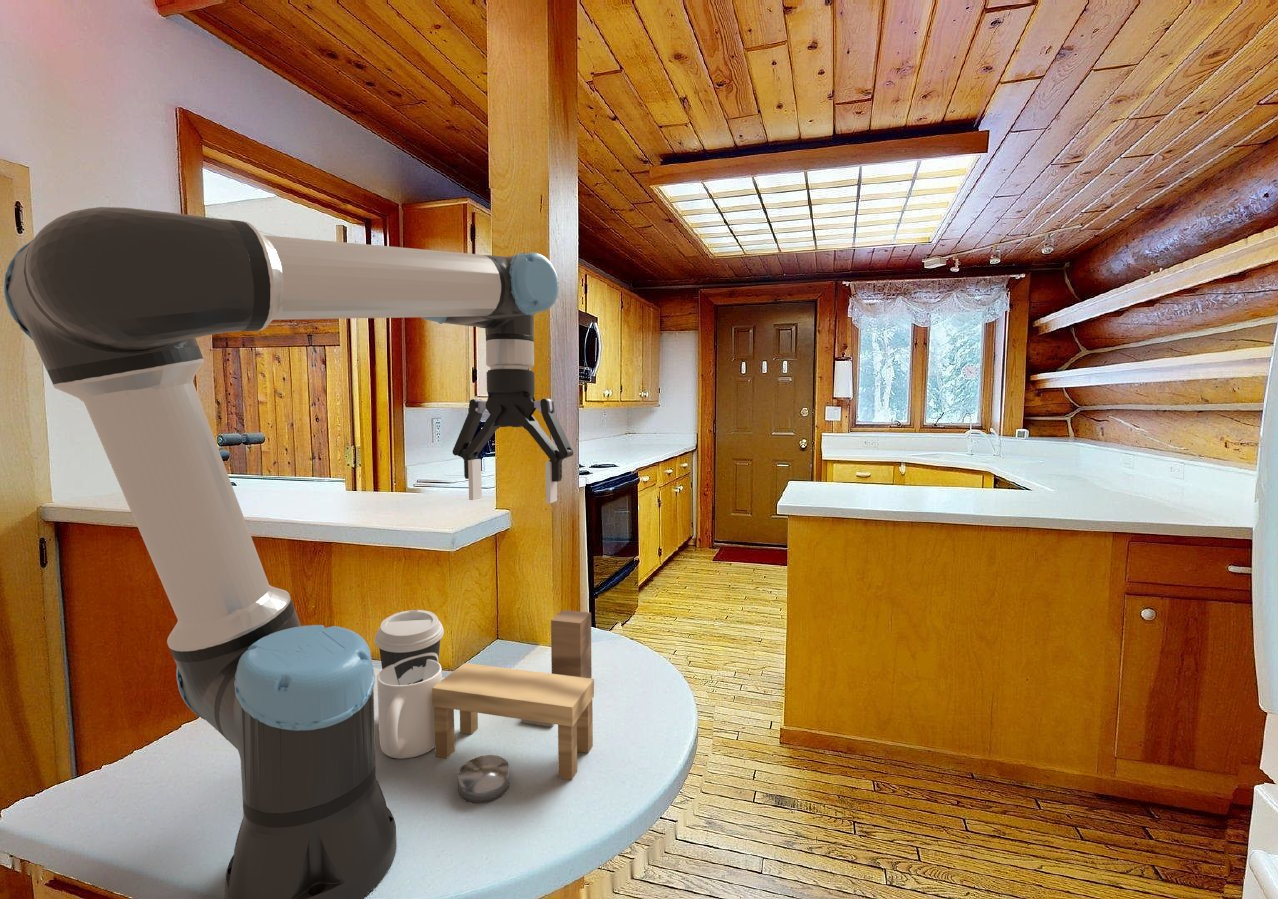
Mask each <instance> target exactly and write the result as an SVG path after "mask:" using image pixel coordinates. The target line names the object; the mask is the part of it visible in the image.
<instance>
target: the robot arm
mask: <svg viewBox="0 0 1278 899" xmlns="http://www.w3.org/2000/svg"><path fill="white" fill-rule="evenodd" d="M4 275H5V277H4V281H3V295H4V299H5V303H6V306H7V309H8V311H9V313H10V315H11V318H12V319H13V320H14V322H15V323H16V324H17V325H18V326H19V329H20V330H21V331H23V333H25V334H26V335H27V336H28V337H29V339H31V340H32V341H33V344H34V345H35V348H36V350H37V352H38V354H39V356H40V359H41V361H42V363H43V366H44V367H45V368H44V369H45V370H46V372H47V374H48V376H49V378H50V381H51V384H52V386H53V388H54V389H57V390H59V391H61V392H62V393H66V394H68V395H70V396H72V397H75V398H77V399H79V400H80V401H81V402H83V403H84V405H85V408H86V410H87V413H88V415H89V417H90V421H91V422H92V424H93V426H94V429H95V431H96V434H97V436H98V438H99V441H100V442H101V445H102V447H103V450H104V453H105V454H106V456H107V459H108V461H109V464H110V465H111V468H112V471H113V473H114V475H115V478H116V480H117V482H118V484H119V487H120V490H121V491H122V494H123V496H124V498H125V501H126V503H127V505H128V508H129V510H130V512H131V514H132V516H133V519H134V521H135V524H136V527H137V528H138V531H139V534H140V536H141V537H142V540H143V543H144V545H145V547H146V550H147V552H148V554H149V556H150V559H151V561H152V563H153V566H154V568H155V570H156V573H157V575H158V578H159V579H160V581H161V584H162V586H163V589H164V591H165V594H166V596H167V598H168V600H169V603H170V605H171V607H172V610H173V612H174V616H176V617H175V618H176V619H177V622H176V624H175V625H174V627H173V629H172V631H171V632H169V635H168V637H167V641H166V644H167V646H168V648H169V650H170V653H171V655H172V657H173V660H174V662H175V665H176V672H175V673H176V674H175V676H176V682H177V687H178V688H177V689H178V691H179V693H180V697H181V698H182V700H183V702H184V703H185V704H186V706H187V707H188V709H189V710H191V711H192V712H193V713H194V714H195V715H196V716H197V717H200V718H201V719H202V720H204V721H206V722H207V723H208V724H210V725H211V727H213V728H214V729H215V730H216V731H218V733H219V734H220V735H221V736H223V737H224V739H225V740H226V741H228V742H229V743H230V745H232V746H234V748H235V749H236V750H237V751H238V754H239V758H240V770H241V789H242V790H241V791H242V795H241V796H242V809H243V813H242V814H243V815H242V816H243V817H242V820H241V823H240V826H239V830H238V833H237V836H236V841H235V845H234V849H233V850H234V851H233V855H231V858H230V861H229V862H228V865H227V868H226V870H225V871H226V872H225V874H224V875H225V876H224V881H223V884H224V885H223V887H224V890H223V891H224V899H364V898H365V897H366V896H367V895H368V894H369V893H370V892H372V890H373V889H375V887H376V886H377V885H379V884H380V883H381V881H382V880H383V878H384V877H385V876H386V875H387V873H389V872H388V871H389V870H390V868H391V867H392V865H393V862H394V861H395V858H396V853H397V826H396V825H397V824H396V820H395V817H394V815H393V813H392V811H391V809H390V808H389V807H388V806H387V802H386V798H385V796H384V793H383V790H382V788H381V786H380V783H379V781H378V779H377V771H376V768H377V766H376V736H375V735H376V730H375V728H376V727H375V726H376V725H375V698H374V697H375V694H374V693H375V692H374V687H375V683H376V681H375V678H376V676H375V668H374V665H373V662H372V661H373V659H372V655H371V654H372V653H371V649H370V646H369V644H368V642H367V641H366V640H365V639H364V638H363V637H362V636H361V635H360V634H358V633H357V632H355V631H354V630H351V629H349V628H345V627H341V626H336V625H332V626H329V627H325V626H324V625H323V624H315V625H314V624H312V625H301V622H300V619H299V617H298V614H297V611H296V609H295V606H294V603H293V599H292V598H291V596H290V593H289V592H288V591H287V590H285V589H281V588H279V587H275V586H272V585H271V584H270V583H269V580H268V578H267V575H266V573H265V570H264V568H263V565H262V562H261V559H260V557H259V554H258V552H257V549H256V546H255V543H254V541H253V538H252V536H251V532H250V530H249V527H248V525H247V522H246V519H245V517H244V514H243V511H242V509H241V506H240V503H239V500H238V498H237V494H236V492H235V490H234V488H233V484H232V482H231V479H230V476H229V474H228V471H227V469H226V466H225V463H224V461H223V458H222V455H221V452H220V450H219V447H218V445H217V441H216V439H215V437H214V434H213V431H212V429H211V426H210V423H209V420H208V417H207V415H206V413H205V409H204V407H203V405H202V402H201V399H200V396H199V394H198V392H197V388H196V386H195V384H194V380H195V376H196V375H197V373H198V372H199V370H200V368H201V367H202V366H203V364H204V363H205V359H204V357H203V354H202V351H201V349H200V346H199V344H198V341H197V338H201V337H206V336H207V337H208V336H212V335H219V334H226V333H236V332H237V333H239V332H260V331H263V330H265V329H266V328H267V327H268V326H269V325H270V323H271V322H272V321H274V320H275V321H280V320H285V321H287V320H331V319H332V320H335V319H338V320H340V319H383V318H385V319H390V318H391V319H393V318H397V319H398V318H400V319H401V318H421V319H423V320H425V321H431V322H435V323H437V324H439V325H442V324H446V325H447V324H449V325H457V326H458V325H459V326H465V327H467V326H468V327H476V328H480V329H484V331H485V332H484V333H485V366H487V367H488V368H489V369H488V370H487V371H486V372H485V373H486V391H487V399H486V400H482V399H475V398H473V399H470V400H469V405H468V413H467V414H466V418H465V420H464V422H463V425H462V428H461V429H460V432H459V434H458V436H457V440H456V441H455V444H454V447H453V449H452V455H453V456H456V457H457V456H458V457H459V458H462V459H463V472H464V478H465V480H468V500H469V501H475V500H478V499H483V498H482V497H483V496H482V495H483V494H482V488H483V487H482V459H481V458H478V457H479V456H478V455H479V454H480V453H481V451H482V450H483V449H484V447H485V446H486V445H487V443H488V442H489V440H490V439H491V438H492V436H493V435H494V434H495V432H496V431H497V430H499V429H500V428H505V427H506V428H511V427H512V428H522V429H524V430H526V431H527V433H529V435H530V436H531V437H532V438H533V440H534V441H535V442H536V443H537V445H538V446H539V447H540V449H541V450H542V451H543V452H544V453H545V456H547V458H548V461H545V462H544V463H545V504H553V503H555V502H558V482H560V481H562V479H563V460H565V459H568V458H570V457H573V455H574V450H573V448H572V446H571V444H570V442H569V439H568V437H567V435H566V434H565V433H566V432H564V429H563V426H562V425H561V423H560V421H559V419H558V418H559V417H557V414H556V411H555V403H554V400H553V399H551V398H541V399H540V400H536V398H535V392H536V391H535V390H536V389H535V388H536V387H535V372H534V371H533V369H532V370H531V368H533V367H534V366H535V345H534V344H535V343H534V342H535V340H534V339H535V338H534V337H535V336H534V334H535V333H534V331H535V330H534V326H535V325H534V323H535V322H534V317H535V315H536V314H539V313H541V312H546V311H548V310H549V309H551V308H552V306H554V304H555V303H556V301H557V299H558V295H559V290H560V289H559V288H560V287H559V281H558V280H559V278H558V274H557V271H556V269H555V266H553V264H552V262H551V261H550V260H549V259H548V258H547V257H546V256H545V255H542V254H541V253H537V252H527V253H522V252H519V253H517V254H515V255H513V256H509V255H508V256H500V255H489V254H488V255H486V254H477V253H465V252H456V251H445V250H432V249H423V248H422V249H421V248H410V247H400V246H387V245H377V244H376V245H375V244H365V243H355V242H354V243H353V242H345V241H343V242H342V241H334V240H321V239H311V238H310V239H309V238H300V237H299V238H298V237H289V236H288V237H287V236H279V235H278V236H277V235H266V234H265V235H264V234H262V233H261V232H260V231H259V230H258V229H257V228H256V227H255V226H254V225H253V224H252V223H250V222H247V221H244V220H243V221H242V220H235V219H234V220H233V219H224V218H223V219H222V218H215V217H210V216H209V217H208V216H201V215H200V216H199V215H192V214H185V213H175V212H169V211H159V210H150V209H142V208H133V207H132V208H131V207H116V206H115V207H113V206H112V207H110V206H100V207H99V206H98V207H90V208H84V209H78V210H73V211H70V212H67V213H65V214H63V215H61V216H58V217H56V218H55V219H54V220H52V221H50V222H49V223H47V224H45V226H44V227H42V228H41V230H40V231H39V232H37V234H36V236H34V238H33V239H31V240H30V241H29V242H28V243H26V244H24V245H23V246H22V247H21V248H20V249H19V250H17V251H16V253H15V254H14V255H13V257H12V259H11V260H10V261H9V264H8V265H7V269H6V272H5V274H4ZM536 410H538V412H539V413H540V414H541V416H542V418H543V421H544V423H545V425H546V427H547V429H548V431H549V433H550V435H551V437H552V439H553V441H552V440H551V439H550V437H549V436H548V435H547V434H546V432H545V431H544V430H543V428H542V427H541V425H540V423H539V422H538V420H537V419H536V417H535V416H534V415H533V414H534V413H535V411H536ZM486 411H487V412H488V414H489V416H488V417H487V418H486V420H485V421H484V422H483V426H482V428H481V429H480V430H479V431H478V432H477V434H476V431H477V430H478V427H479V424H480V422H481V419H482V417H483V414H484V413H485V412H486ZM475 434H476V435H475ZM474 436H475V437H474Z"/></svg>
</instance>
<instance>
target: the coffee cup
mask: <svg viewBox="0 0 1278 899" xmlns="http://www.w3.org/2000/svg"><path fill="white" fill-rule="evenodd" d="M444 633H445V630H444V627H443V624H442V622H441V621H440V620H439V618H438V616H437V615H436V614H435V613H434V612H432V611H429V610H425V609H411V610H405V611H404V610H403V611H399V612H396V613H393V614H391V615H390V616H388V617H386V618H384V619H383V620H382V621H381V623H380V626H379V628H378V629H377V631H376V633H375V635H374V636H375V637H374V645H375V646H376V648H377V647H378V649H379V658H380V663H381V664H380V665H381V671H382V670H383V669H384V668H386V667H387V666H389V665H392V664H393V665H394V669H395V672H396V676H397V680H398V683H399V685H409V684H415V683H419V682H422V681H423V677H424V672H425V667H426V661H427V659H430V660H434V661H436V662H438V663H439V660H440V646H441V639H442V638H443V636H444Z"/></svg>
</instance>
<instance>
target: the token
mask: <svg viewBox="0 0 1278 899" xmlns="http://www.w3.org/2000/svg"><path fill="white" fill-rule="evenodd" d="M509 789H510V764H509V762H508V761H507V759H505V758H504V757H503V756H498V755H493V754H490V755H489V754H488V755H481V756H477V757H474V758H472V759H469V760H468V761H467V762H465V763H464V764H463V765H461V767H460V768H459V770H458V795H459V797H460V799H461V800H463V802H466V803H468V804H473V805H483V804H488V803H491V802H493V801H497V800H499V799H500V798H501V797H503V796H504V795H505V794H506V793H507V792H508V790H509Z"/></svg>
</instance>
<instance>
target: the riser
mask: <svg viewBox="0 0 1278 899" xmlns="http://www.w3.org/2000/svg"><path fill="white" fill-rule="evenodd" d="M594 697H595V679H594V678H592V677H591V678H583V677H575V676H566V675H558V674H552V673H550V672H542V671H541V672H540V671H533V670H525V669H517V668H516V669H515V668H508V667H499V666H492V665H484V664H478V663H477V664H475V663H468V662H464V663H462V665H460V666H459V667H458V668H456V669H454V670H453V671H452V672H451V673H450V674H448V675H447V676H446V677H444V678H442V681H440V682H439V683H438V684H436V685H435V686H434V687H432V706H434V720H435V747H434V749H435V753H434V755H435V757H437V758H443V759H448V758H449V757H450V756H451V755H452V754H453V753H455V751H456V748H455V747H456V744H455V743H456V741H455V740H456V739H455V710H457V711H459V730H460V732H459V733H460V734H467V735H473V734H474V732H476V731H477V729H478V728H479V722H478V721H479V719H478V718H479V717H478V714H482V715H483V714H484V715H491V716H496V717H504V718H511V719H517V720H522V719H523V720H530V721H537V722H544V723H550V724H555V725H557V740H558V741H557V745H558V746H557V750H558V751H557V752H558V754H557V756H558V757H557V758H558V778H559V779H564V780H565V779H566V780H571V781H572V780H573V779H574V777H575V776H576V774H577V772H578V752H580V753H586V754H589V753H590V751H591V749H592V747H594V740H593V739H594V738H593V737H594V734H593V733H594V731H593V727H594V726H593V725H594V724H593V723H594V722H593V721H594V720H593V715H594V714H593V712H594V710H593V709H594V708H593V699H594Z"/></svg>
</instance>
